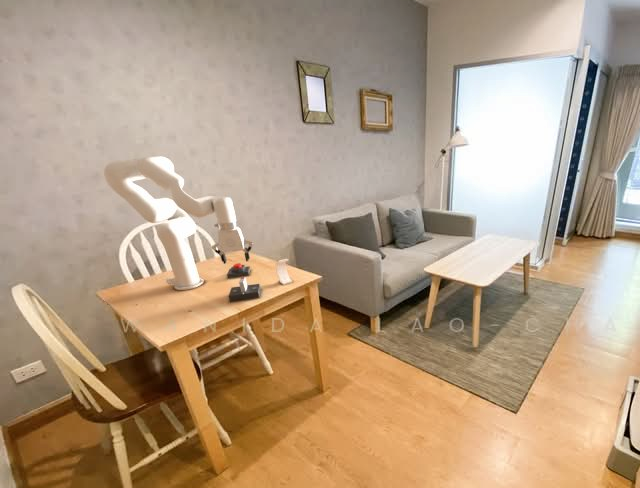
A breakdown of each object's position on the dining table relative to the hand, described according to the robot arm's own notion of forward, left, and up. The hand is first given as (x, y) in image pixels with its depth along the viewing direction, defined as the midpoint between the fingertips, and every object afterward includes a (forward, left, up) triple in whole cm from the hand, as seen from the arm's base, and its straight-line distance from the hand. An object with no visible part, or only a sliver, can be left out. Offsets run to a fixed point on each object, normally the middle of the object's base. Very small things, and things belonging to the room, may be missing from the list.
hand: (236, 261), depth 154 cm
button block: (-3, +16, -13) cm, 20 cm away
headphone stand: (+20, -2, -13) cm, 24 cm away
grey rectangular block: (+3, -12, -9) cm, 16 cm away
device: (+3, -12, -13) cm, 18 cm away
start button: (-3, +16, -9) cm, 18 cm away
